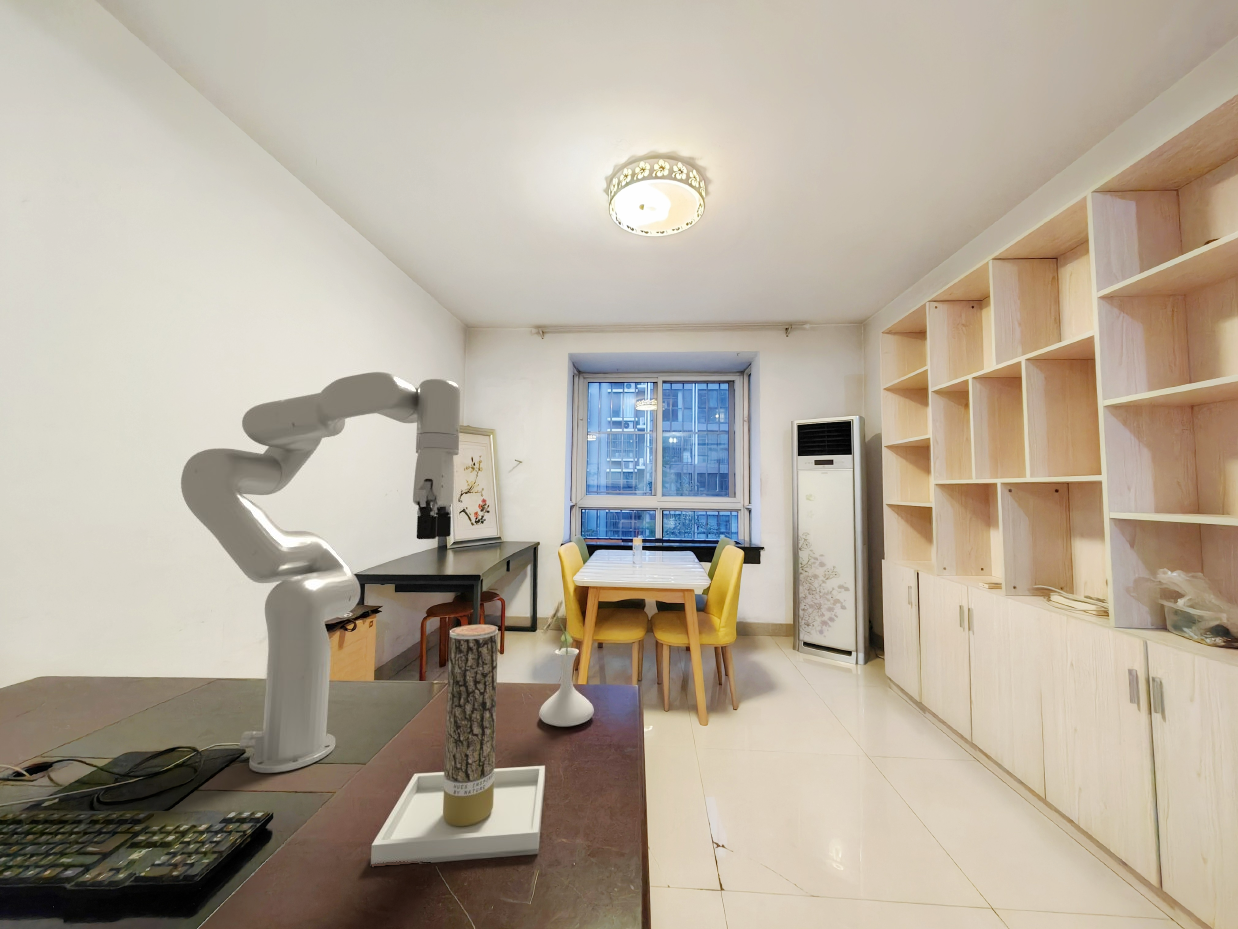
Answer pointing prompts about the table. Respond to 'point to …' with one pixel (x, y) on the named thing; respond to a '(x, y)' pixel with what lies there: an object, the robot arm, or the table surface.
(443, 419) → the robot arm
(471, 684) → the paper tube
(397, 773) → the table surface
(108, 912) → the table surface
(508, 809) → the tray
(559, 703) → the flower in vase
